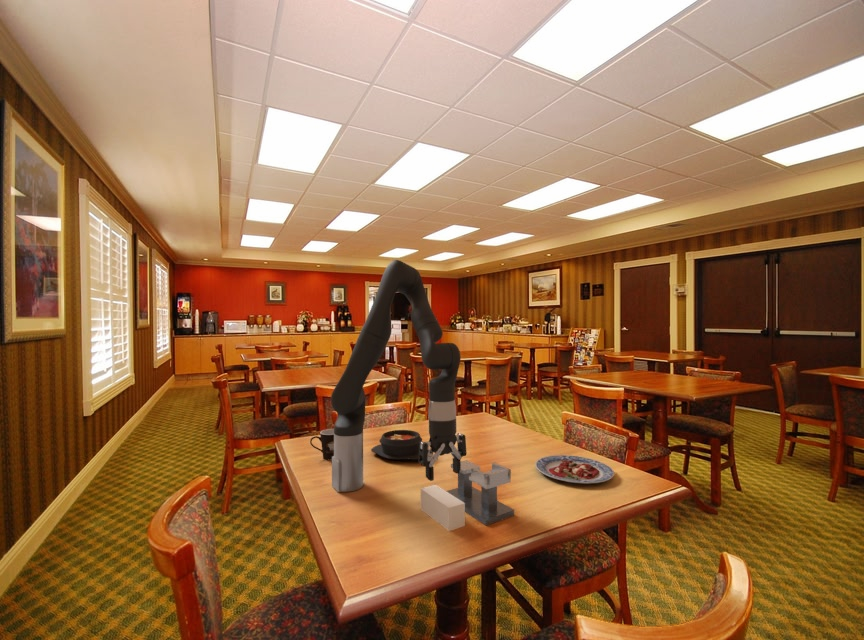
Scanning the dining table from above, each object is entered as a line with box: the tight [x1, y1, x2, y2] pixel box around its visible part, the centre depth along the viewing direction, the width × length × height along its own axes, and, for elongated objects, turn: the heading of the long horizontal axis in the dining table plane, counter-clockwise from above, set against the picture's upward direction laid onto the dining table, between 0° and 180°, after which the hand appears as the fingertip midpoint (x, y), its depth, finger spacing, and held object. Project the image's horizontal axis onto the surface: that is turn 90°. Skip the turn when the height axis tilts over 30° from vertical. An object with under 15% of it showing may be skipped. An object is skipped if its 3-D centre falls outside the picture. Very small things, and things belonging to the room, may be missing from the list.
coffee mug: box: [309, 428, 334, 461], centre depth 154 cm, size 12×9×10 cm
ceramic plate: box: [535, 454, 615, 484], centre depth 137 cm, size 26×26×3 cm
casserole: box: [370, 429, 430, 461], centre depth 156 cm, size 25×19×8 cm
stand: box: [445, 460, 515, 526], centre depth 113 cm, size 10×20×12 cm, turn 32°
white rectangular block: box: [420, 484, 466, 532], centre depth 106 cm, size 5×14×6 cm, turn 32°
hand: (443, 476), depth 107 cm, fingers open, 8 cm apart
